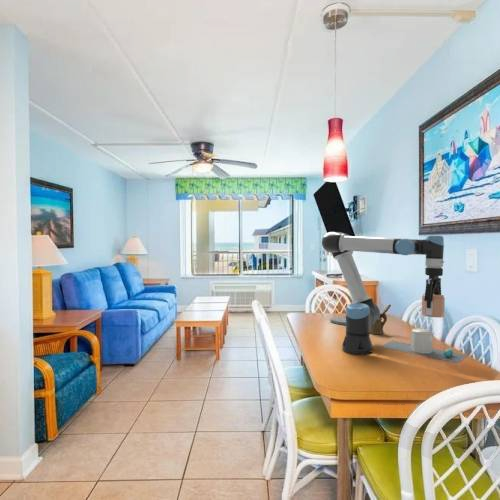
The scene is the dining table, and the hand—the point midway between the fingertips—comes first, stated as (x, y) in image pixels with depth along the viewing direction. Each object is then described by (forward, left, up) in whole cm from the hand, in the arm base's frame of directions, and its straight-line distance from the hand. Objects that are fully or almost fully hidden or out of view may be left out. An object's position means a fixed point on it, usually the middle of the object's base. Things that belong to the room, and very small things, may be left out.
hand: (432, 313), depth 167 cm
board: (0, +5, -21) cm, 21 cm away
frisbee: (+37, +65, -21) cm, 78 cm away
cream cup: (0, +5, -19) cm, 20 cm away
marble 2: (+2, -7, -18) cm, 19 cm away
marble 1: (-2, -7, -18) cm, 19 cm away
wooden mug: (+24, +38, -21) cm, 50 cm away
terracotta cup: (0, 0, -1) cm, 1 cm away
